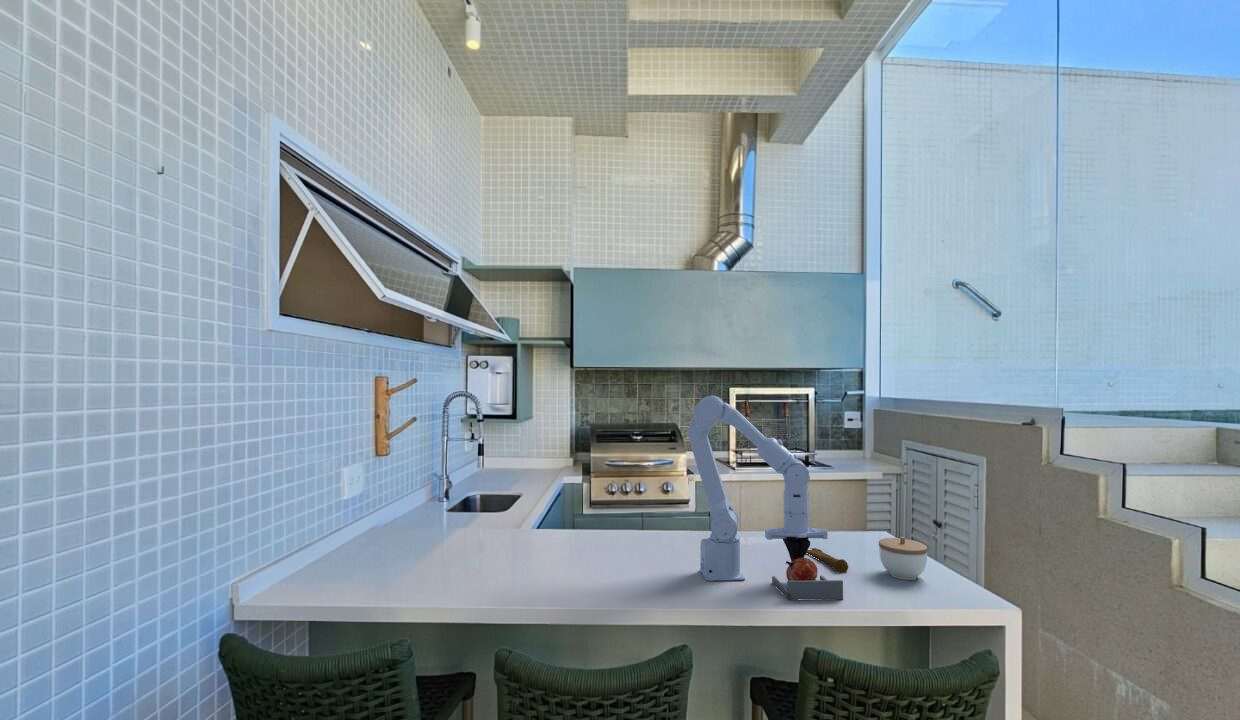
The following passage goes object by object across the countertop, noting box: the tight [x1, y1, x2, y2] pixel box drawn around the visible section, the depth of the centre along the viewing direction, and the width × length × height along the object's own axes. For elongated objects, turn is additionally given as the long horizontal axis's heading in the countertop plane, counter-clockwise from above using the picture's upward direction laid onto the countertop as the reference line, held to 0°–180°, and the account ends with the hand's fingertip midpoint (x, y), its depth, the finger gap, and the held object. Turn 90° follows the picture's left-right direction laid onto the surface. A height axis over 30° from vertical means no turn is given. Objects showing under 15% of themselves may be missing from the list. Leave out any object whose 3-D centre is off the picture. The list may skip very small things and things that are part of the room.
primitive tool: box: [806, 547, 849, 573], centre depth 147 cm, size 19×6×4 cm, turn 10°
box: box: [771, 575, 844, 601], centre depth 125 cm, size 12×11×4 cm
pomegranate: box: [785, 557, 818, 581], centre depth 126 cm, size 7×7×10 cm
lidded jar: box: [878, 536, 928, 581], centre depth 136 cm, size 11×11×9 cm
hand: (796, 569), depth 131 cm, fingers closed, pressing on pomegranate
